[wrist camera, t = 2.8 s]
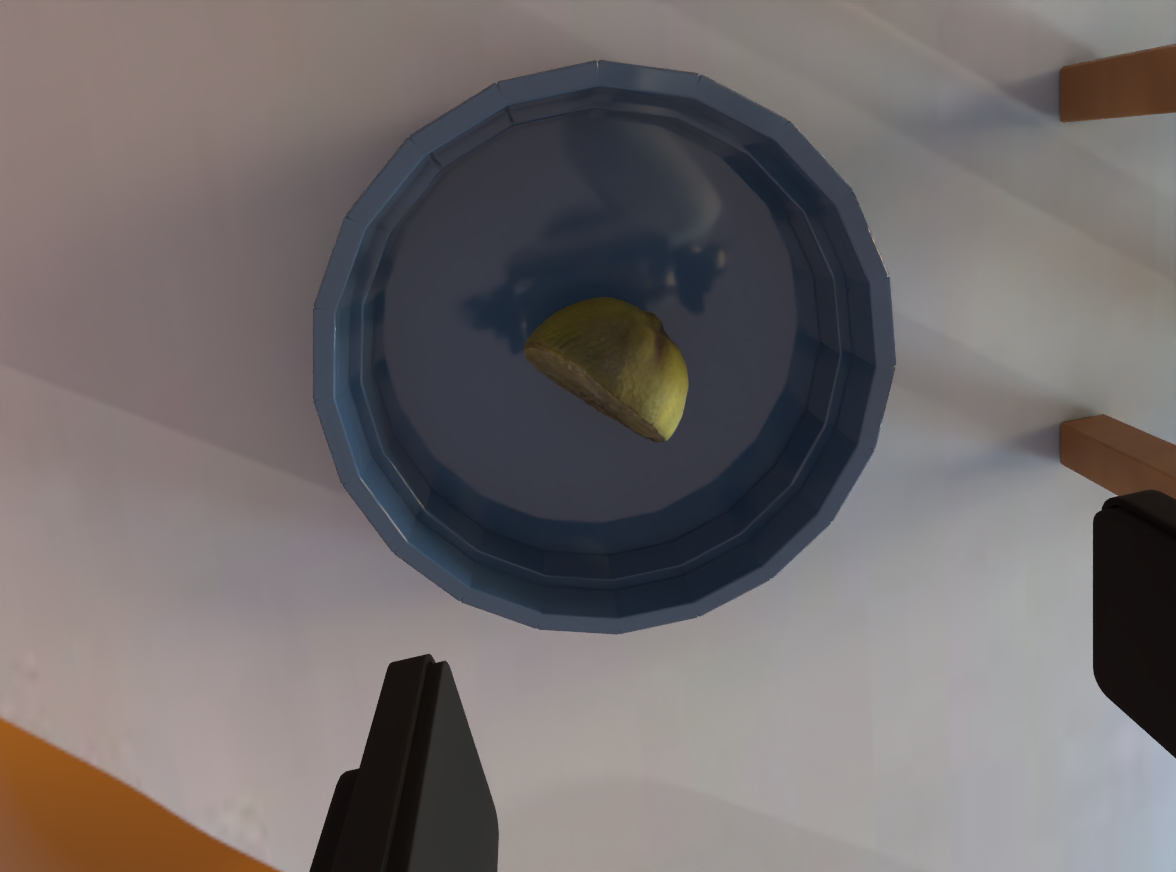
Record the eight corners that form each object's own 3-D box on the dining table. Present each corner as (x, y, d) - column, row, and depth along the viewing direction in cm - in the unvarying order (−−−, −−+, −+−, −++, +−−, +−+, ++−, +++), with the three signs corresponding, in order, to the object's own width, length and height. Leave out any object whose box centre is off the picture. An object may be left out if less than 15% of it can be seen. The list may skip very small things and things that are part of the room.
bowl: (275, 145, 23) (224, 140, 19) (815, 28, 23) (870, 0, 19) (423, 612, 28) (406, 680, 24) (861, 518, 28) (911, 572, 24)
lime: (669, 421, 26) (699, 478, 21) (523, 419, 26) (521, 475, 21) (679, 287, 25) (713, 314, 20) (525, 282, 24) (523, 310, 19)
